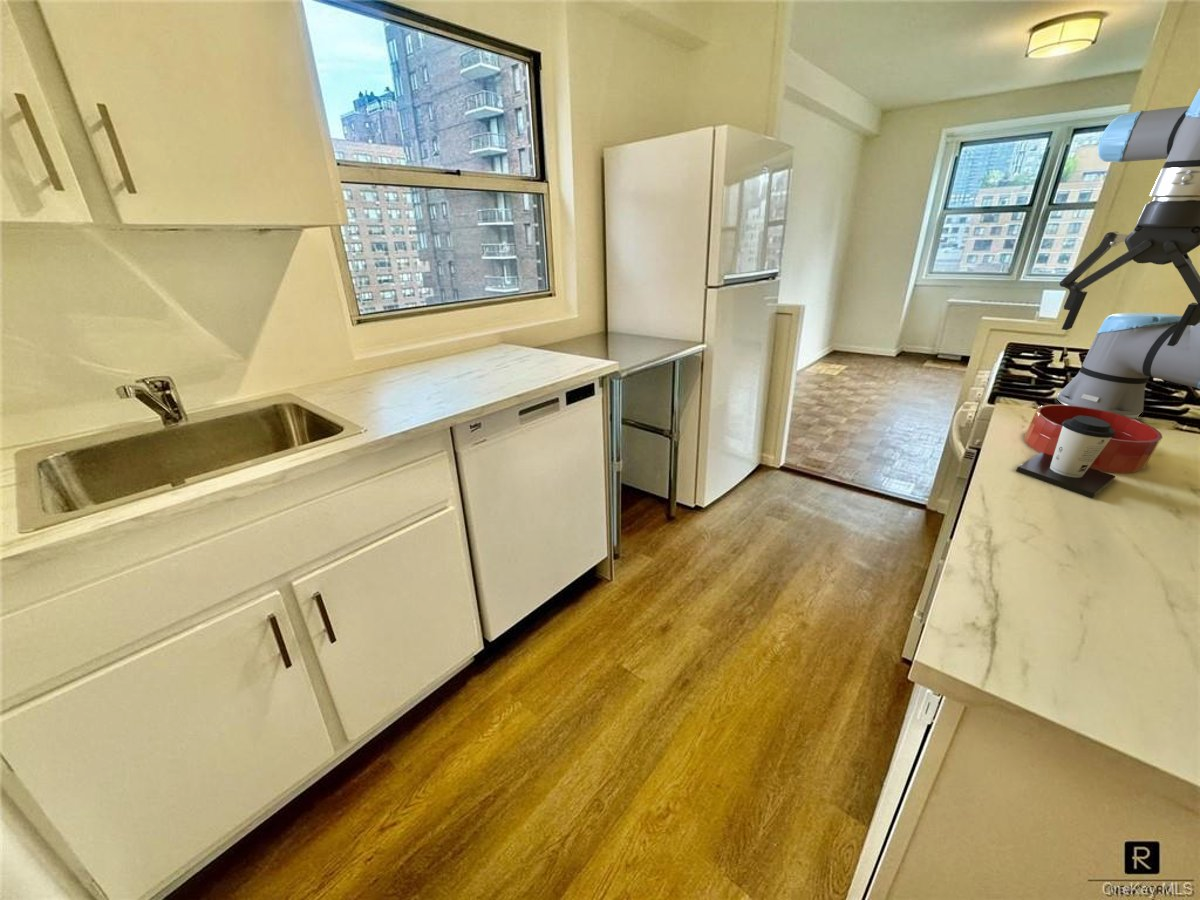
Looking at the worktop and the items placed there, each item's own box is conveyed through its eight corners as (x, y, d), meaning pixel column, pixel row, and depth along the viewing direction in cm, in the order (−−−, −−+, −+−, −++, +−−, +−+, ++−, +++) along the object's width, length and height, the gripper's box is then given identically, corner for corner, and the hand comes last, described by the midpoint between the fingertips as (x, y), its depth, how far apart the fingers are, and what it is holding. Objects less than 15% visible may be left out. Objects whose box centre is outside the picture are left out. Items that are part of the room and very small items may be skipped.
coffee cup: (1096, 484, 84) (1125, 433, 79) (1045, 474, 87) (1070, 423, 83) (1086, 468, 89) (1113, 418, 85) (1038, 458, 92) (1061, 410, 88)
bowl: (1043, 425, 109) (1056, 398, 106) (1156, 457, 96) (1174, 427, 93) (1009, 444, 100) (1021, 415, 97) (1127, 482, 87) (1146, 450, 84)
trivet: (1039, 456, 95) (1041, 452, 95) (1113, 480, 87) (1116, 475, 87) (1015, 471, 90) (1017, 466, 90) (1092, 498, 82) (1095, 493, 81)
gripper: (1070, 200, 82) (1021, 325, 92) (1313, 199, 63) (1219, 356, 73) (1085, 199, 85) (1036, 320, 95) (1319, 198, 67) (1228, 348, 77)
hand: (1116, 336), depth 84 cm, fingers open, 13 cm apart
